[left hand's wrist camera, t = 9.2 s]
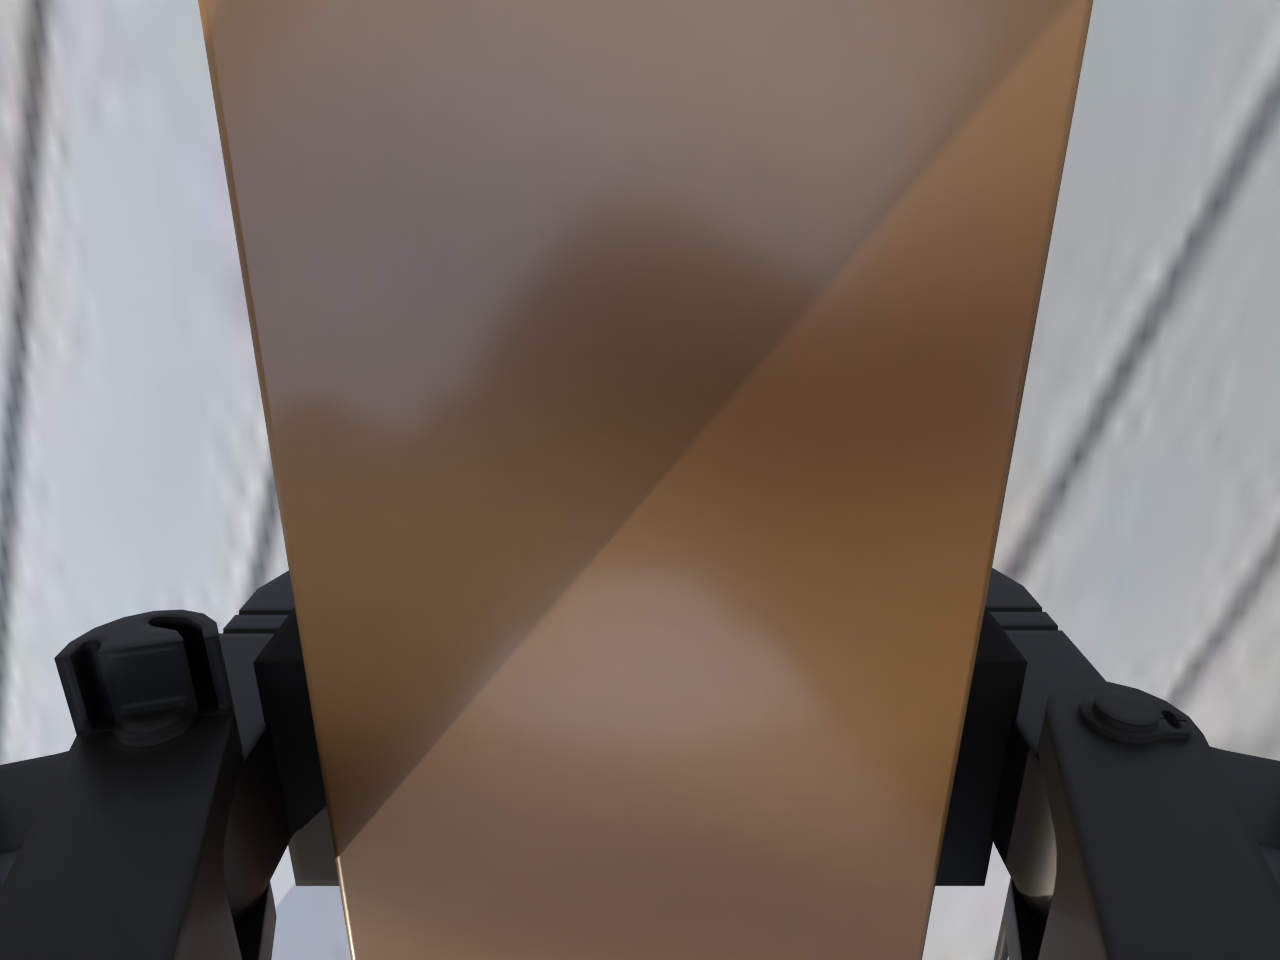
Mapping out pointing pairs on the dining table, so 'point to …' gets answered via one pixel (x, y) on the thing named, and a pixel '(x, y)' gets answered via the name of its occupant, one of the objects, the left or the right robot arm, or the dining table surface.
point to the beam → (641, 444)
